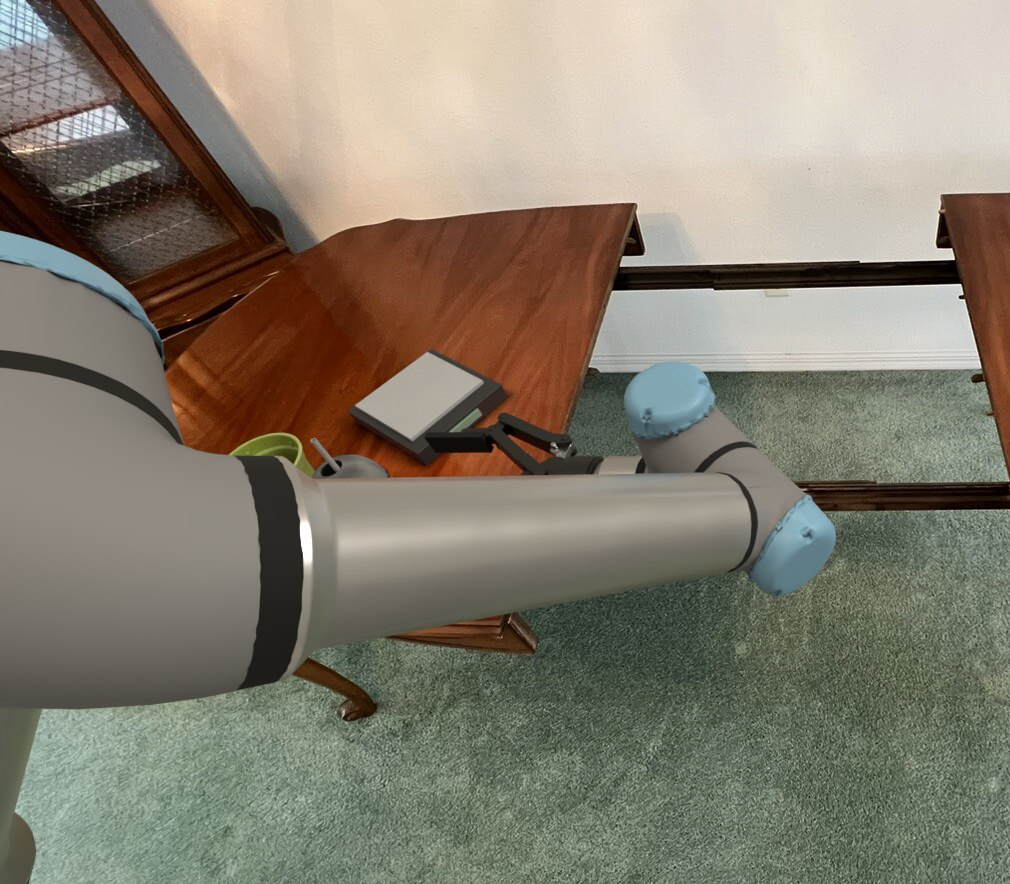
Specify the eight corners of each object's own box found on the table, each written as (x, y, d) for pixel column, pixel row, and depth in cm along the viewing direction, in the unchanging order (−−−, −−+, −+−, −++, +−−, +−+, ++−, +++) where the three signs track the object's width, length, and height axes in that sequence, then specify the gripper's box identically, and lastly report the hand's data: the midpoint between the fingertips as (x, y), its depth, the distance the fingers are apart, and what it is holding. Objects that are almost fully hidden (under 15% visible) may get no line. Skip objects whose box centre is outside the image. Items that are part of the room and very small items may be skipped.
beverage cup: (397, 518, 81) (291, 408, 66) (452, 523, 80) (357, 412, 65) (365, 571, 77) (242, 466, 61) (423, 577, 76) (313, 472, 60)
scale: (428, 466, 86) (416, 452, 84) (358, 423, 92) (344, 408, 90) (509, 397, 93) (500, 382, 91) (439, 361, 99) (429, 345, 97)
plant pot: (323, 537, 80) (275, 496, 73) (249, 539, 81) (194, 498, 74) (357, 474, 86) (315, 431, 79) (288, 476, 87) (240, 433, 80)
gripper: (585, 623, 63) (372, 621, 65) (637, 424, 79) (464, 426, 80) (558, 586, 57) (325, 584, 59) (619, 379, 73) (434, 382, 75)
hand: (405, 493), depth 70 cm, fingers open, 13 cm apart
